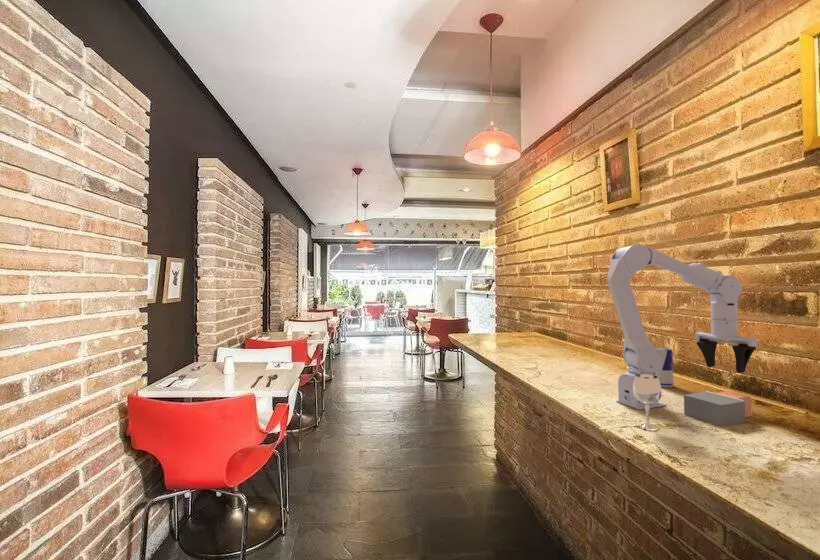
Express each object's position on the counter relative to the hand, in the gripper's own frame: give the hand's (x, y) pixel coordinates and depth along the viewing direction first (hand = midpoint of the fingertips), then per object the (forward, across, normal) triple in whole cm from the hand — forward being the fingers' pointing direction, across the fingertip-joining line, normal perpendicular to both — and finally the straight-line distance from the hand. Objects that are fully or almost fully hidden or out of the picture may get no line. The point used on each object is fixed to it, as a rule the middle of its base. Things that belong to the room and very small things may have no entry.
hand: (725, 369), depth 109 cm
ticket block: (+10, -6, +14) cm, 18 cm away
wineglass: (+10, -5, +34) cm, 35 cm away
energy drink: (+10, +21, -3) cm, 23 cm away
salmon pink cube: (+10, -6, +7) cm, 13 cm away
